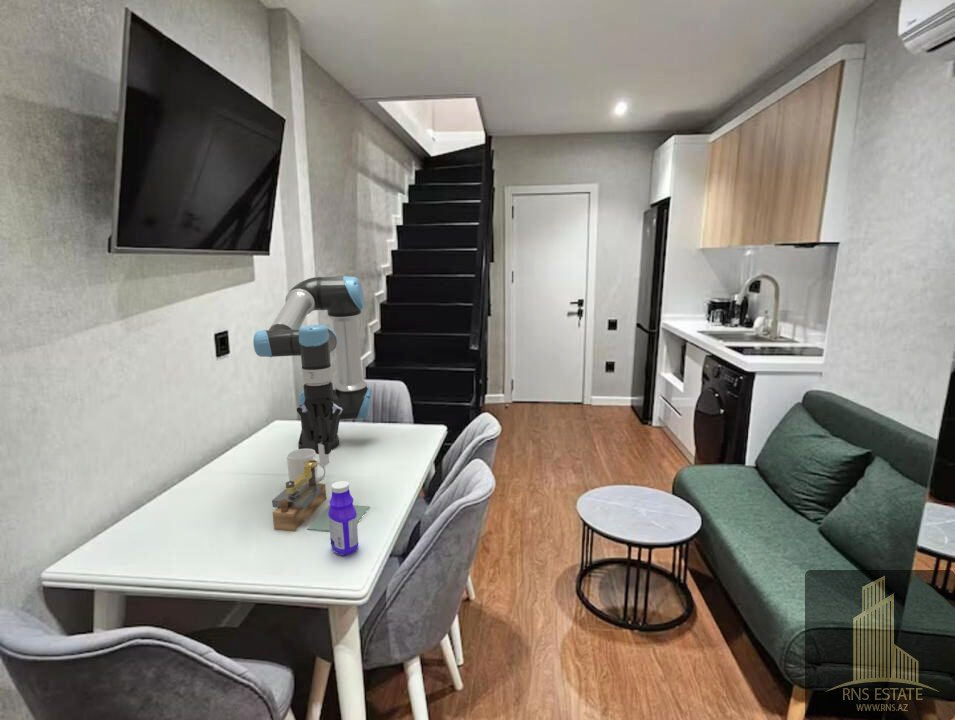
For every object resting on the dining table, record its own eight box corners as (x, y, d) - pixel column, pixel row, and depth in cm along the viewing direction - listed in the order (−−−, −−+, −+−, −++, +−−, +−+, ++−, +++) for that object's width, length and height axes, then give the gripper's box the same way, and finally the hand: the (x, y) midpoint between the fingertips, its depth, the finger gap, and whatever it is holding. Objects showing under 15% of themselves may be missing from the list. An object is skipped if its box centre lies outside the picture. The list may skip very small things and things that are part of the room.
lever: (308, 471, 149) (307, 459, 148) (320, 472, 148) (319, 460, 147) (282, 493, 135) (281, 480, 134) (294, 494, 135) (293, 481, 134)
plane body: (308, 497, 151) (304, 463, 149) (326, 499, 150) (323, 464, 148) (274, 529, 134) (270, 491, 131) (294, 531, 133) (290, 492, 130)
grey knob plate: (292, 490, 145) (291, 482, 144) (321, 492, 143) (320, 484, 143) (272, 507, 135) (271, 498, 135) (303, 509, 134) (302, 500, 133)
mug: (319, 492, 154) (316, 460, 152) (284, 490, 156) (281, 458, 154) (332, 480, 162) (330, 449, 160) (299, 478, 165) (296, 447, 163)
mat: (331, 504, 147) (331, 503, 146) (369, 507, 144) (369, 506, 144) (307, 529, 133) (307, 528, 133) (349, 533, 131) (349, 532, 131)
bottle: (363, 549, 124) (358, 484, 120) (343, 560, 119) (338, 492, 116) (346, 539, 128) (341, 476, 125) (327, 548, 124) (321, 483, 121)
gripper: (288, 385, 133) (296, 468, 137) (333, 386, 131) (340, 471, 135) (302, 378, 140) (309, 458, 145) (346, 379, 138) (352, 460, 142)
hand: (324, 464), depth 140 cm, fingers closed
